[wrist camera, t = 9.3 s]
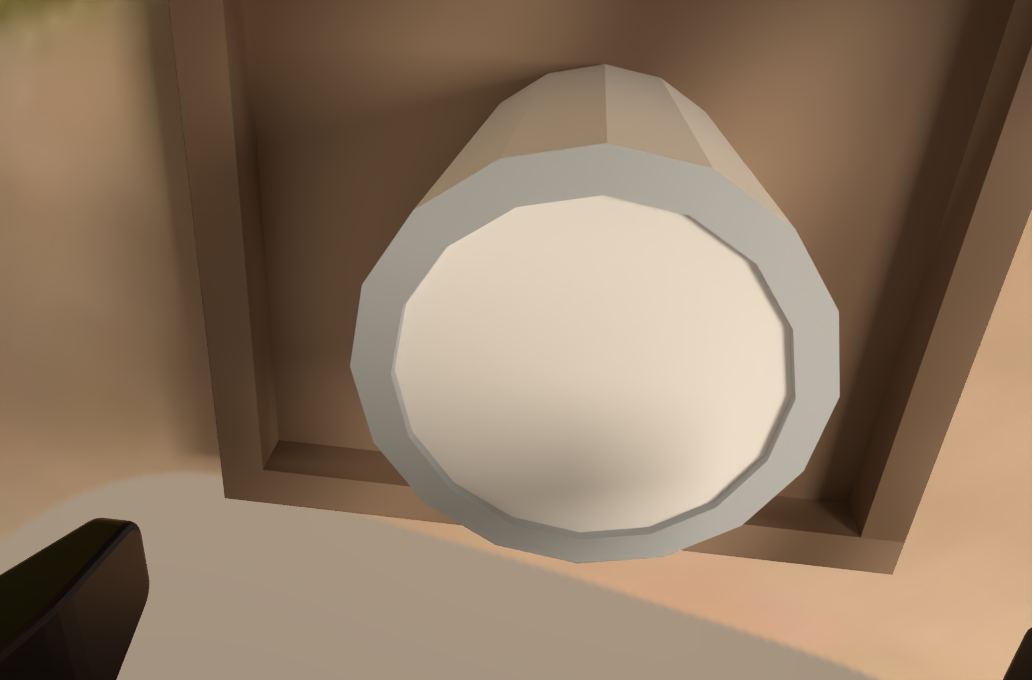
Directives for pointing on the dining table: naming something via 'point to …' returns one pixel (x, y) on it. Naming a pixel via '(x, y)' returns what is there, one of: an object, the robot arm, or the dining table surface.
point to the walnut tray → (737, 114)
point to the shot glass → (597, 329)
